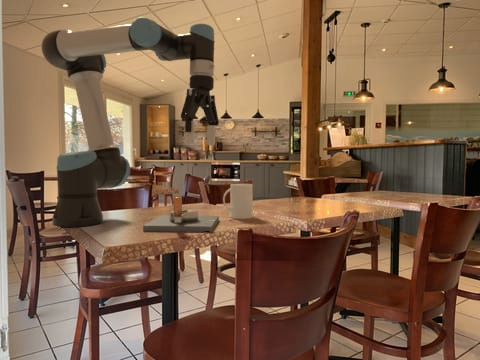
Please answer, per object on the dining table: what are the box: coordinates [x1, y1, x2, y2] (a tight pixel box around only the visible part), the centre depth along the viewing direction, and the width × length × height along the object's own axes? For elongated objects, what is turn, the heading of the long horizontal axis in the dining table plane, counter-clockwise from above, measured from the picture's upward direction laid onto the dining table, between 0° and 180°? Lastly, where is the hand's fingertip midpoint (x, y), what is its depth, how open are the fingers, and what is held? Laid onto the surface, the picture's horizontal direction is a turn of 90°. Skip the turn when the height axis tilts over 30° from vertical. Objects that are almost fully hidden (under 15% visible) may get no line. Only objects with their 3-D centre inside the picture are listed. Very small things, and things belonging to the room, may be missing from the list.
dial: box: [169, 196, 199, 223], centre depth 114 cm, size 15×9×8 cm, turn 177°
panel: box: [142, 214, 220, 233], centre depth 117 cm, size 20×20×2 cm
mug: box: [222, 183, 254, 220], centre depth 133 cm, size 12×8×12 cm
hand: (200, 144), depth 117 cm, fingers open, 13 cm apart
